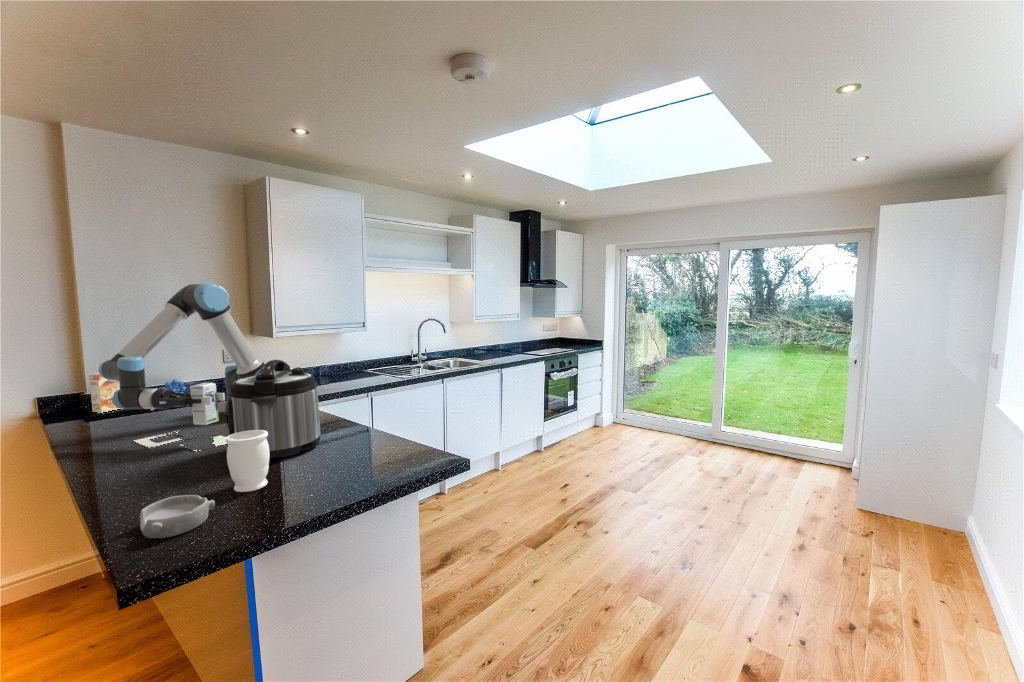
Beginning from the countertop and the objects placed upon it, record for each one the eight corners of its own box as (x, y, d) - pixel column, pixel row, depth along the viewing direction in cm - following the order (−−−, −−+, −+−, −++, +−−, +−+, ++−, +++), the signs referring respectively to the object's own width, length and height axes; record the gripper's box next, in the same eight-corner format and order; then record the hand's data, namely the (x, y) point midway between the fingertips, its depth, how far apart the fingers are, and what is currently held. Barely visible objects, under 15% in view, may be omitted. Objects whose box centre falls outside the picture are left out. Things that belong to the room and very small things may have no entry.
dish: (160, 546, 100) (158, 524, 100) (124, 534, 106) (122, 513, 106) (226, 517, 113) (224, 497, 113) (190, 507, 119) (189, 488, 119)
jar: (241, 480, 136) (237, 430, 135) (277, 478, 137) (274, 428, 136) (221, 495, 126) (217, 441, 124) (261, 493, 127) (257, 439, 125)
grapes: (185, 398, 257) (183, 377, 256) (187, 400, 252) (185, 378, 251) (159, 402, 249) (157, 380, 248) (161, 404, 244) (159, 381, 243)
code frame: (181, 431, 191) (181, 430, 191) (198, 437, 182) (198, 435, 182) (133, 441, 178) (132, 440, 178) (149, 448, 169) (148, 447, 169)
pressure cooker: (284, 433, 184) (278, 354, 181) (340, 440, 173) (335, 355, 170) (210, 459, 156) (202, 365, 153) (272, 468, 146) (265, 368, 143)
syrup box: (206, 425, 168) (203, 385, 167) (192, 424, 169) (189, 385, 168) (219, 421, 174) (216, 382, 172) (205, 420, 175) (203, 382, 174)
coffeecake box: (101, 413, 226) (97, 374, 224) (92, 413, 228) (87, 373, 226) (135, 406, 240) (131, 369, 238) (125, 406, 242) (122, 368, 240)
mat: (220, 436, 182) (220, 435, 182) (238, 441, 174) (238, 440, 174) (179, 446, 171) (179, 445, 171) (196, 452, 163) (196, 451, 163)
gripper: (179, 403, 182) (235, 403, 180) (136, 415, 163) (198, 415, 161) (178, 384, 181) (234, 383, 179) (134, 394, 162) (197, 393, 160)
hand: (217, 398), depth 170 cm, fingers closed on syrup box, 6 cm apart
